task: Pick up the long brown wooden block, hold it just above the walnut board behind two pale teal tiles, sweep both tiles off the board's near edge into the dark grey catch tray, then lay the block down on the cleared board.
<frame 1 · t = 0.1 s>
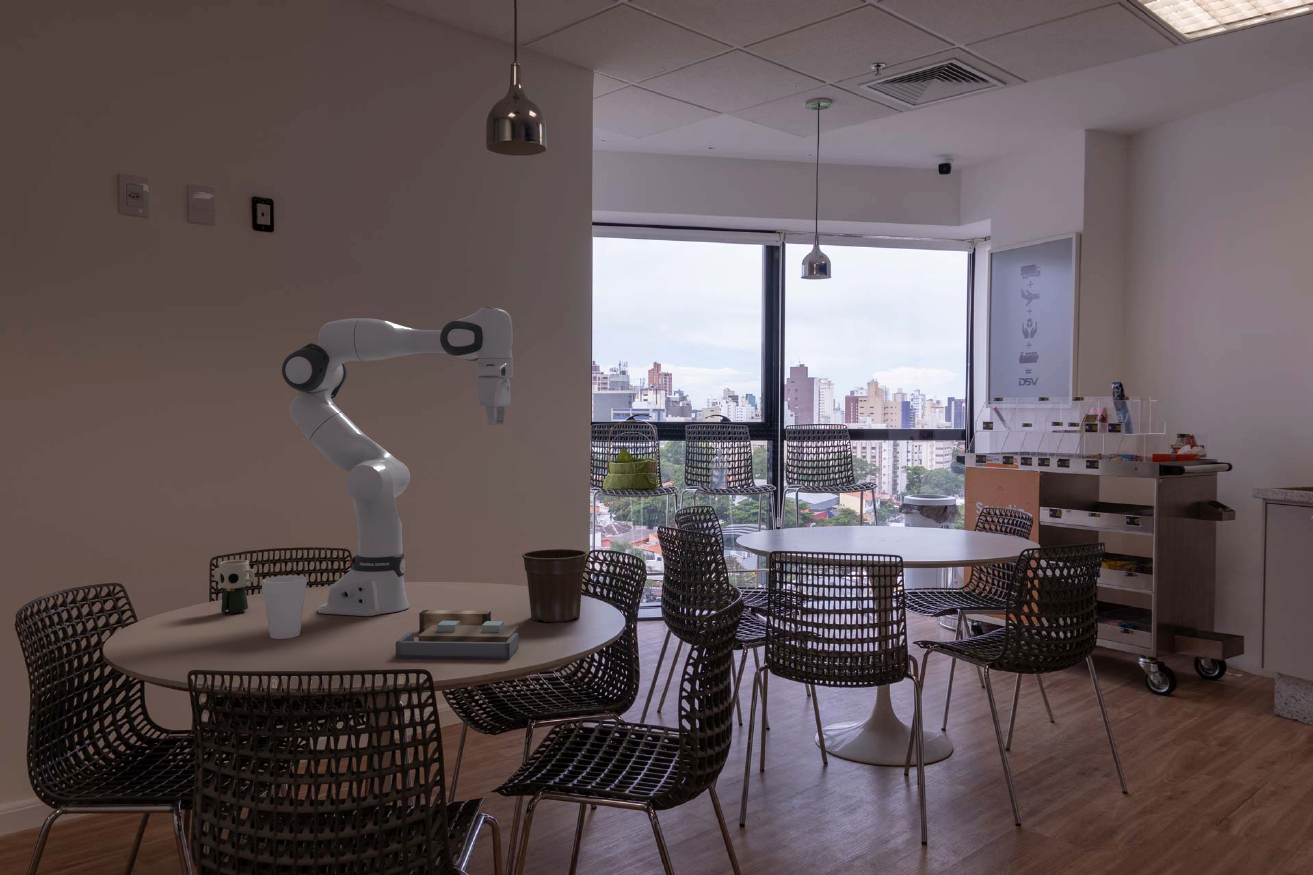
hand: (496, 424, 237), 48 cm above the table, tool pointing down, fingers open, 8 cm apart
character mug: (234, 613, 236), on the table
brown wooden block: (455, 631, 216), on the table
tile a: (448, 629, 207), point 2 cm above the table, touching board
plant pot: (555, 618, 230), on the table
tile b: (492, 629, 206), point 2 cm above the table, touching board
foam cup: (285, 636, 212), on the table
board: (469, 641, 206), on the table
catch tray: (458, 653, 196), on the table
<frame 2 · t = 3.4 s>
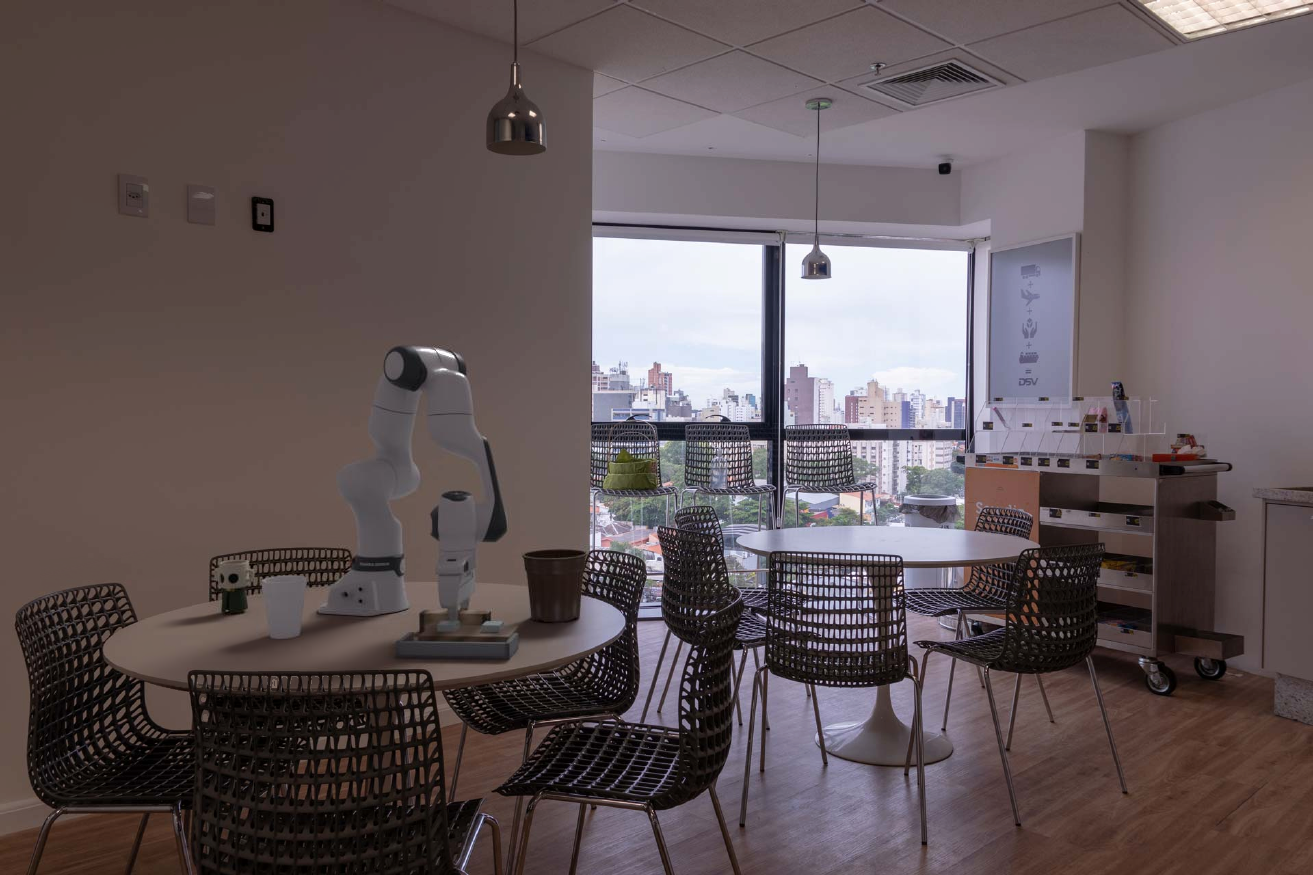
hand: (459, 619, 216), 2 cm above the table, tool pointing down, fingers open, 8 cm apart
nothing on the table moved.
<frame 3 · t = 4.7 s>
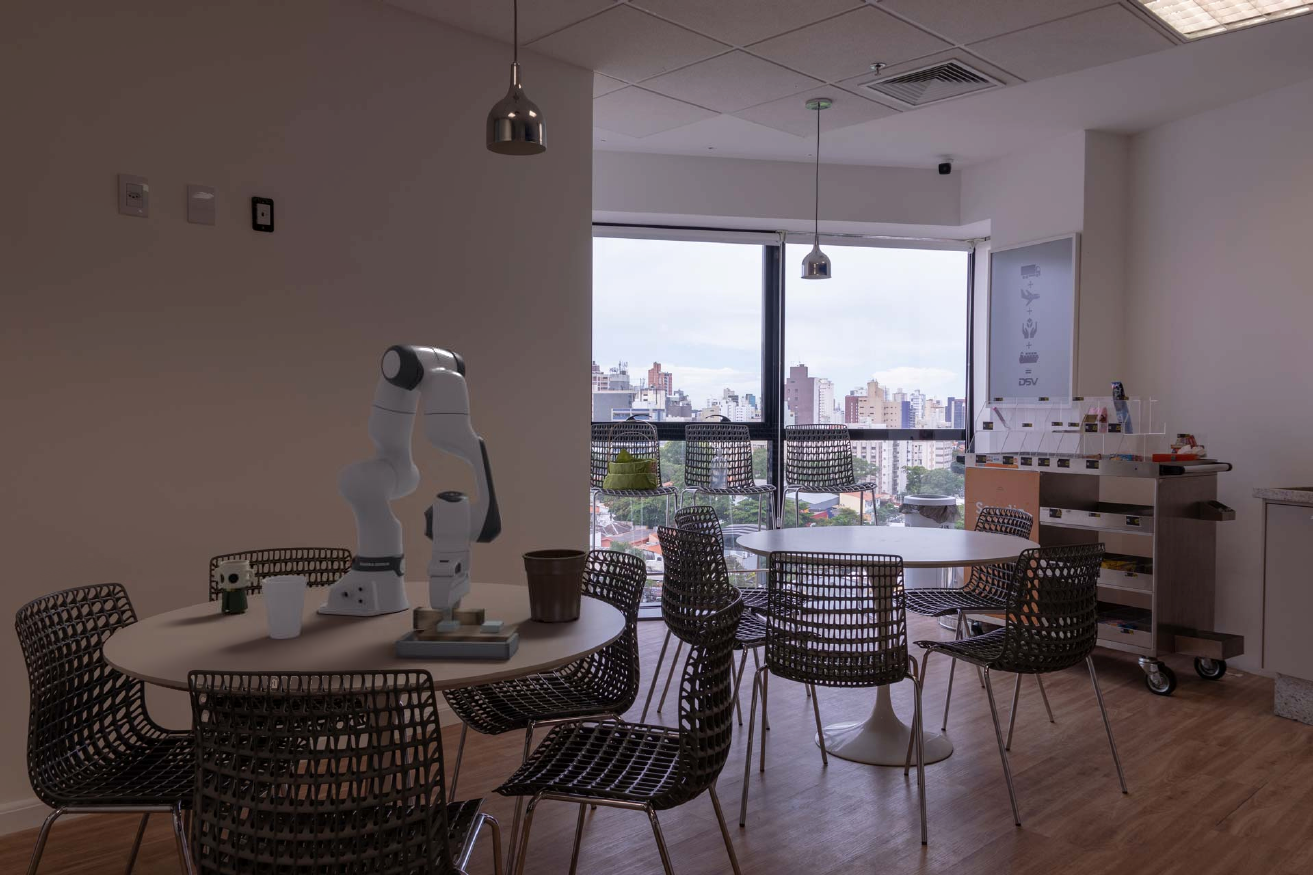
hand: (451, 620, 216), 2 cm above the table, tool pointing down, fingers closed on brown wooden block, 3 cm apart
brown wooden block: (449, 628, 216), point 1 cm above the table, touching gripper
everything else where it was.
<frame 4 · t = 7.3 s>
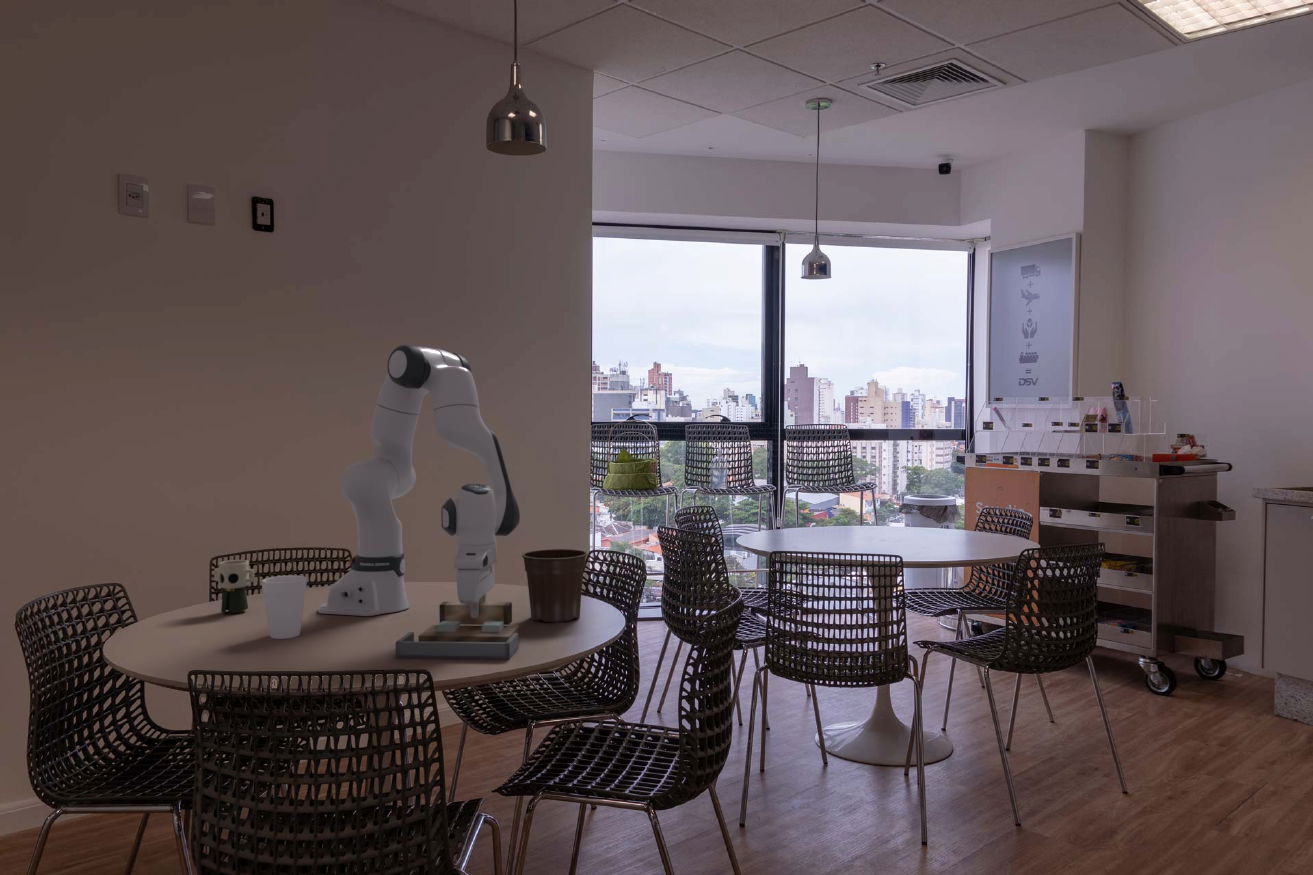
hand: (477, 614, 213), 4 cm above the table, tool pointing down, fingers closed on brown wooden block, 3 cm apart
brown wooden block: (476, 622, 213), point 3 cm above the table, touching gripper
everything else where it was.
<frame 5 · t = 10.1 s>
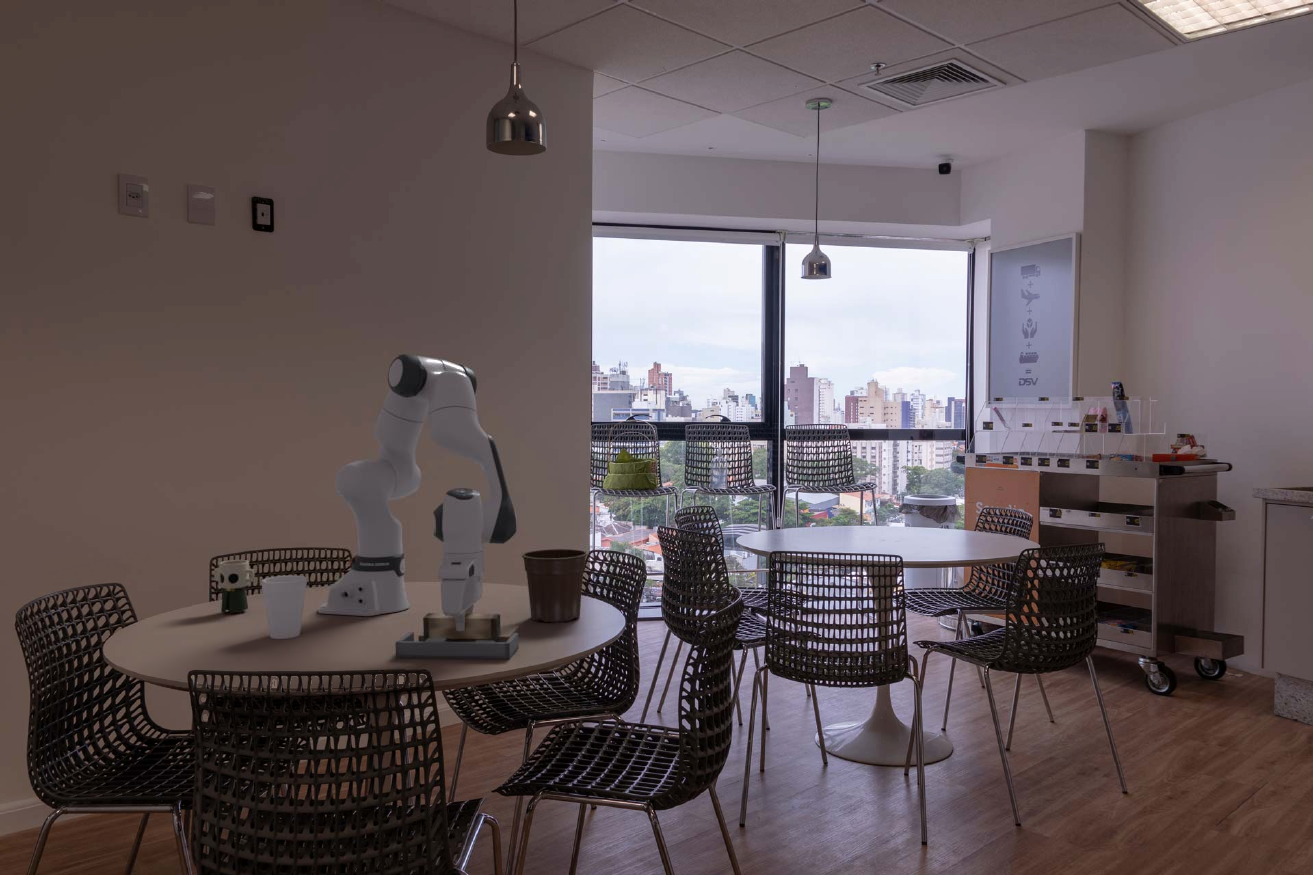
hand: (464, 627, 200), 4 cm above the table, tool pointing down, fingers closed on brown wooden block, 4 cm apart
brown wooden block: (462, 635, 201), point 3 cm above the table, touching board, gripper, tile a
tile a: (434, 647, 198), point 1 cm above the table, touching catch tray, brown wooden block
tile b: (483, 648, 197), point 1 cm above the table, touching catch tray
everything else where it was.
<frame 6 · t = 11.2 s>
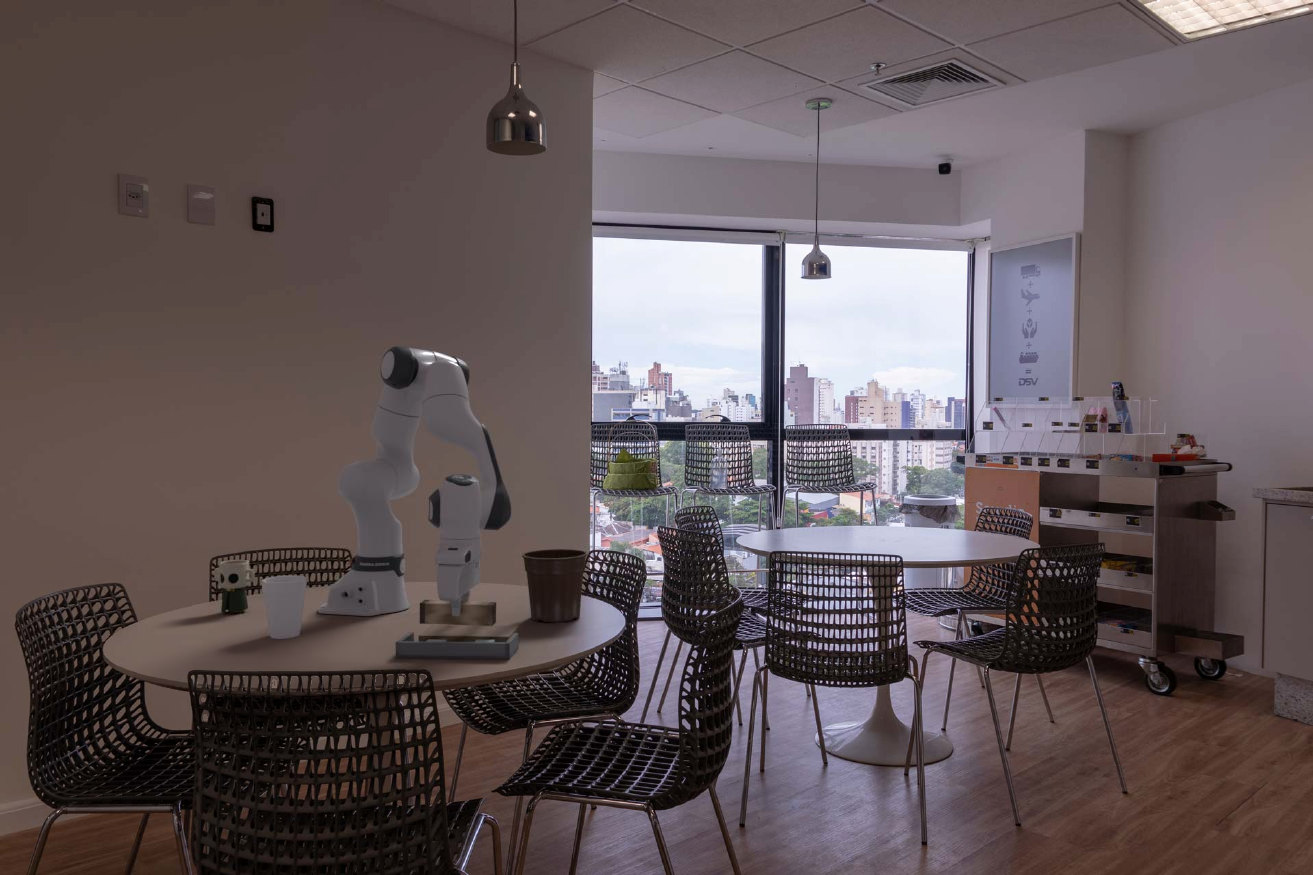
hand: (459, 612, 202), 7 cm above the table, tool pointing down, fingers closed on brown wooden block, 3 cm apart
brown wooden block: (458, 622, 202), point 5 cm above the table, touching gripper
tile a: (434, 648, 198), point 1 cm above the table, touching catch tray
everything else where it was.
when the fingers open (5 cm above the table, at t = 13.2 s): brown wooden block stays where it is, resting on board.
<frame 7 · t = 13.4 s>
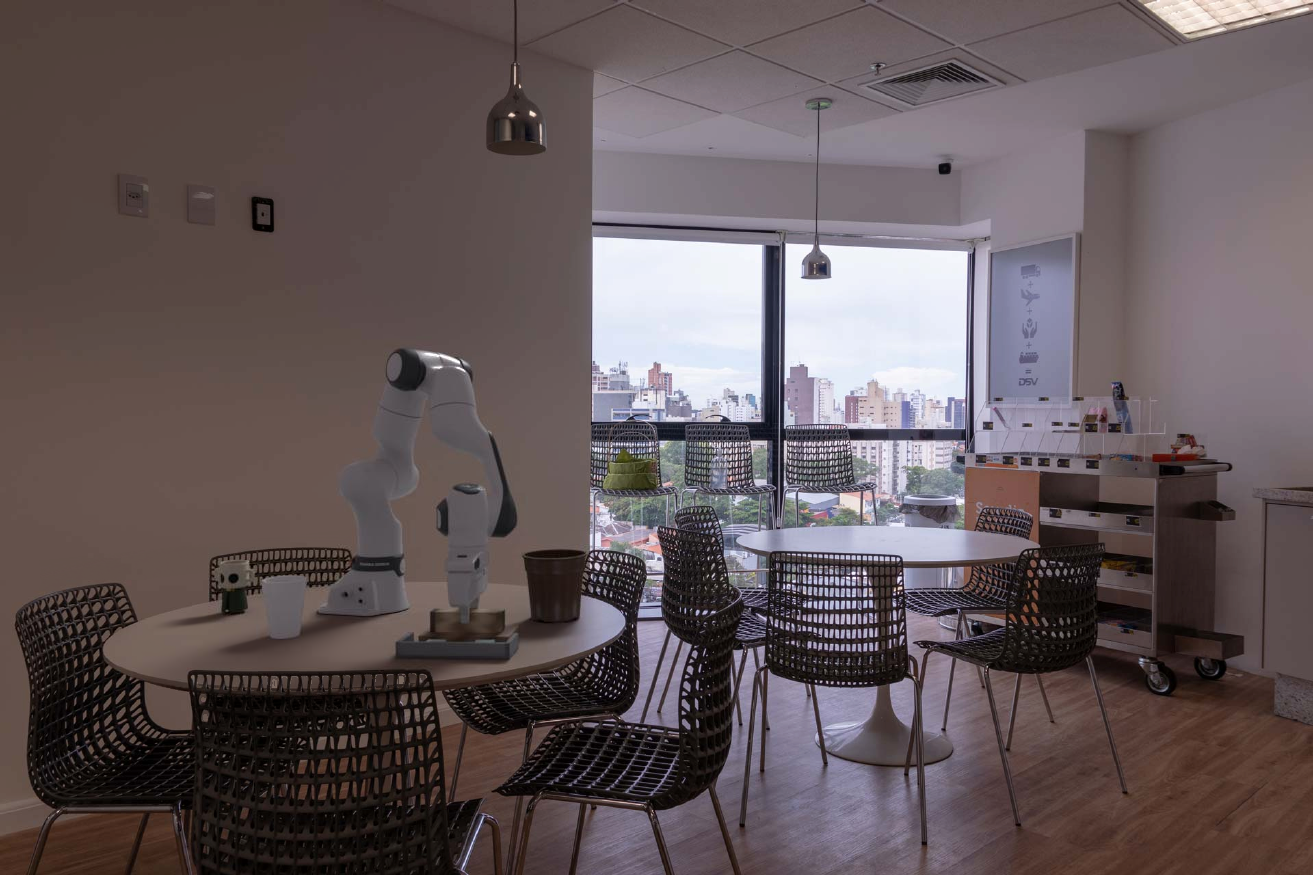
hand: (469, 619, 206), 5 cm above the table, tool pointing down, fingers open, 5 cm apart
brown wooden block: (467, 630, 206), point 2 cm above the table, touching board
everything else where it was.
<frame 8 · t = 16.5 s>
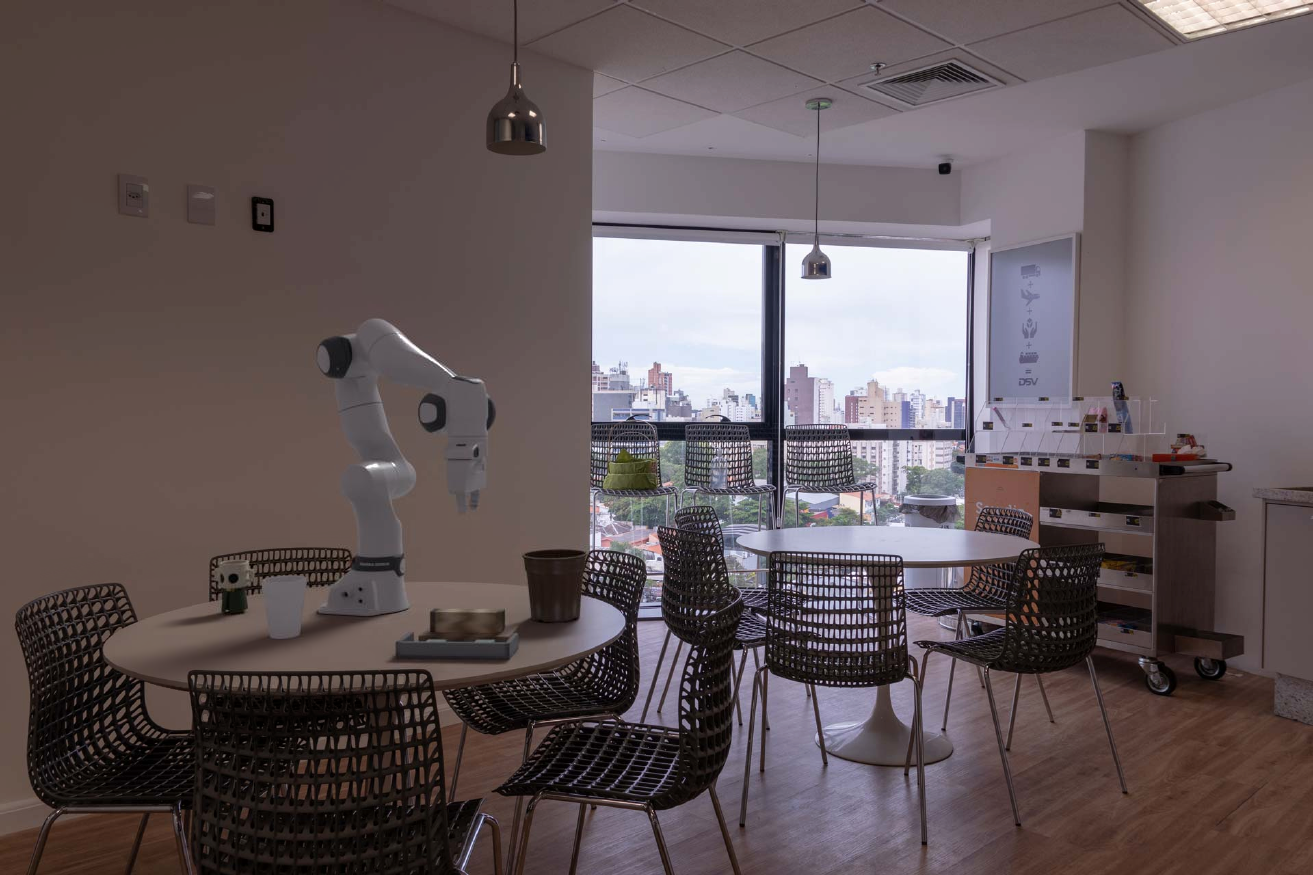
hand: (468, 511, 205), 29 cm above the table, tool pointing down, fingers open, 8 cm apart
nothing on the table moved.
at the end: tile a inside the target area (5.5 cm from its centre), point 0.6 cm above the table; tile b inside the target area (5.5 cm from its centre), point 0.6 cm above the table; brown wooden block inside the target area (0.4 cm from its centre), point 2.5 cm above the table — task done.
